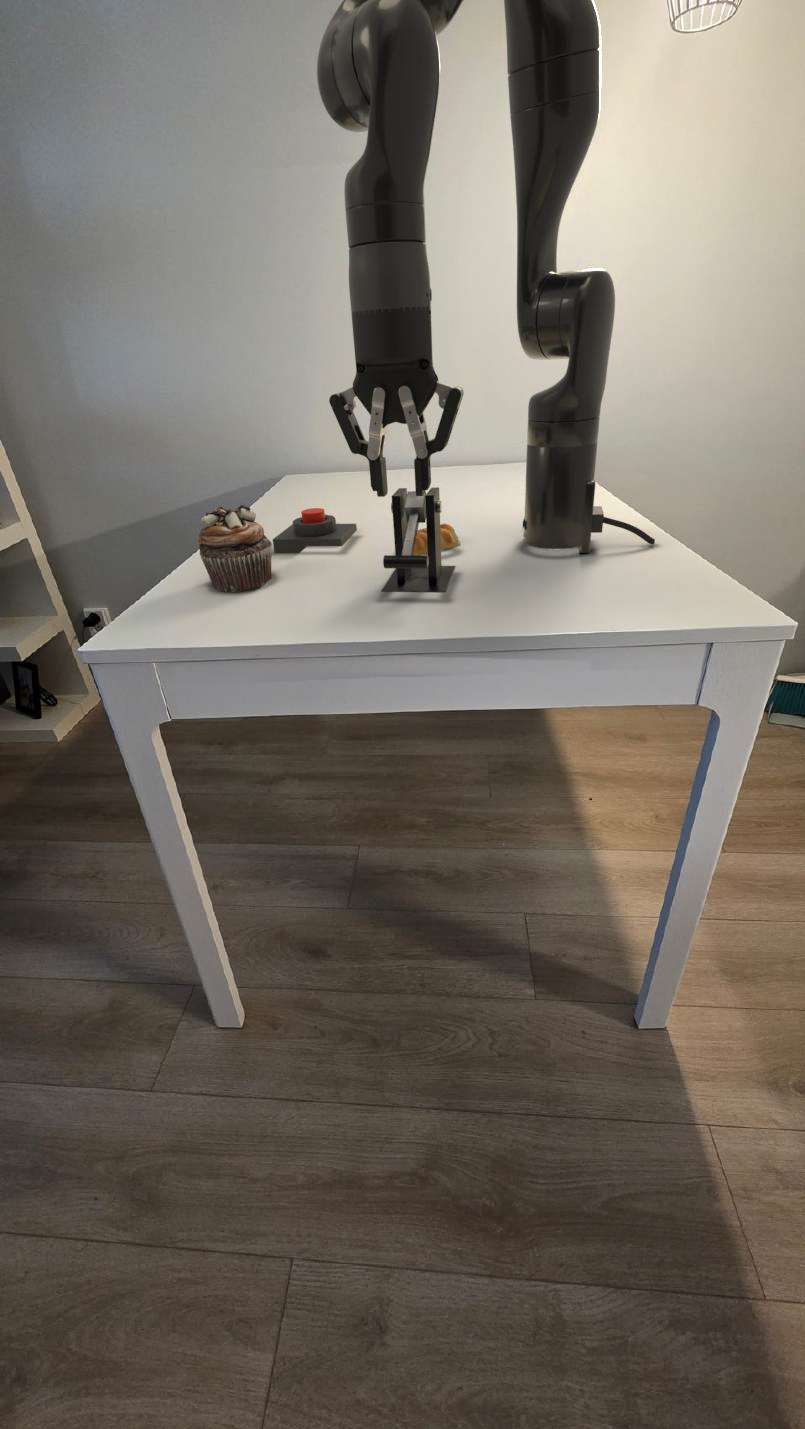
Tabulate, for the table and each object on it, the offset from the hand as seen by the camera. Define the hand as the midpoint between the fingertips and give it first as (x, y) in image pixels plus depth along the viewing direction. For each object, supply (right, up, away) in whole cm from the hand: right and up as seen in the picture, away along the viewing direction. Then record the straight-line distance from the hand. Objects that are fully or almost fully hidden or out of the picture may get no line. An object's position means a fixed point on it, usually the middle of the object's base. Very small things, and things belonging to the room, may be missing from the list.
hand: (401, 494), depth 69 cm
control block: (-14, +3, +33) cm, 36 cm away
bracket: (+2, -7, +13) cm, 15 cm away
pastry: (+4, 0, +25) cm, 26 cm away
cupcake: (-22, -6, +19) cm, 30 cm away
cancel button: (-14, +6, +31) cm, 35 cm away
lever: (+1, -3, +7) cm, 8 cm away
